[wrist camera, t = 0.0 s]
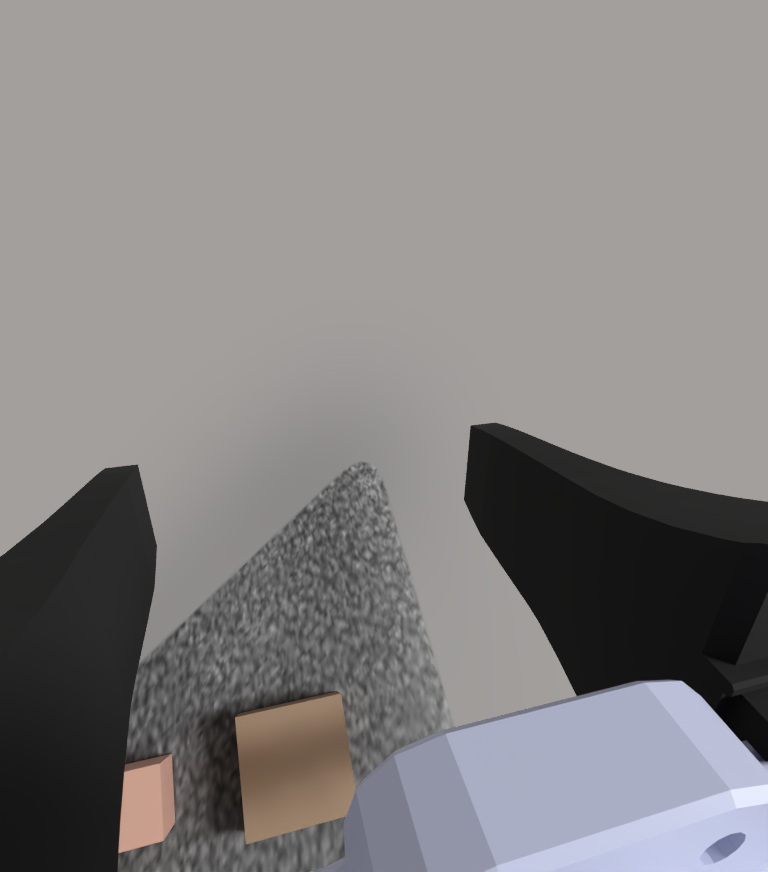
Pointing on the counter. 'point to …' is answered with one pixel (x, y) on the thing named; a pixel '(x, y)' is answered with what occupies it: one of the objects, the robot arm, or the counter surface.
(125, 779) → the terracotta block
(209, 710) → the counter surface
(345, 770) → the walnut base
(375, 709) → the counter surface
